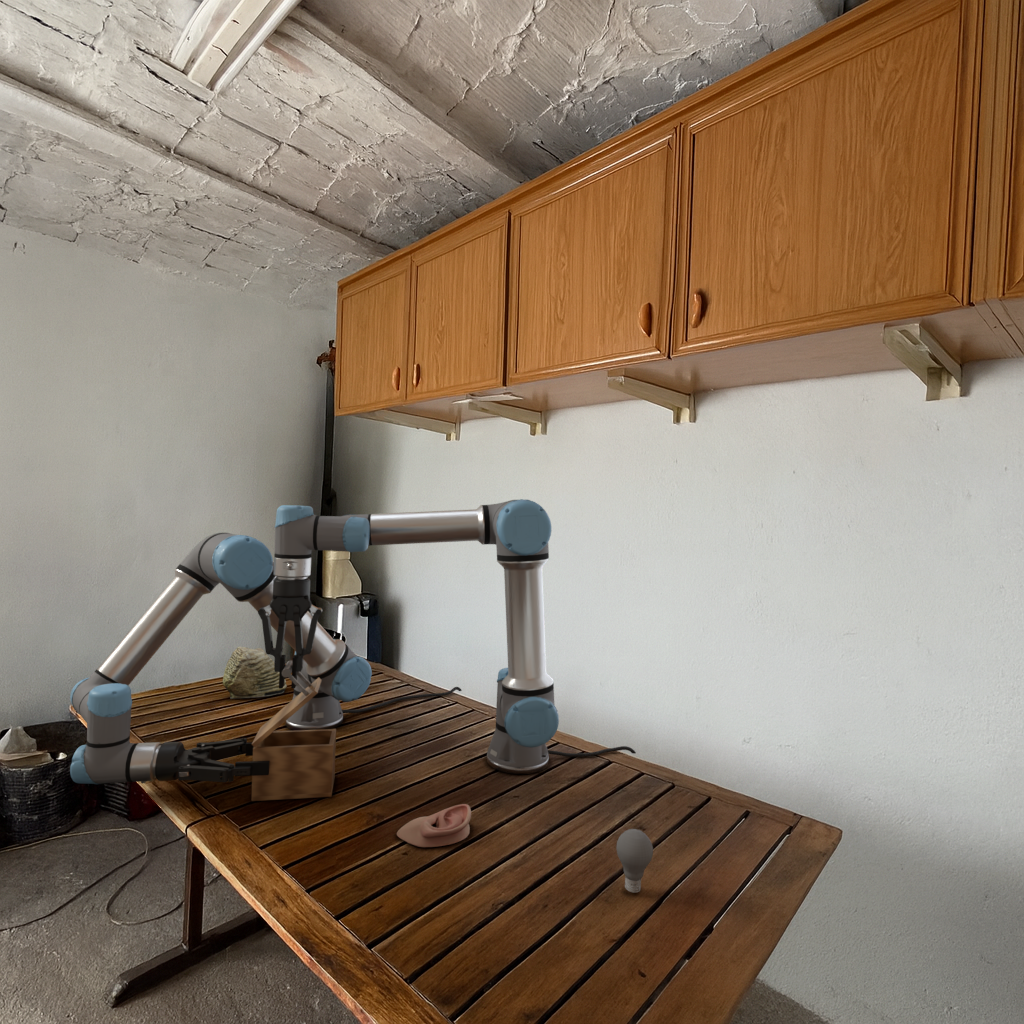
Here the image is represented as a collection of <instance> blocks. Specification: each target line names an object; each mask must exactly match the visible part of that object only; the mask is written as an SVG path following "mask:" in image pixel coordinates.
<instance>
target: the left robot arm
mask: <svg viewBox="0 0 1024 1024" xmlns="http://www.w3.org/2000/svg"><path fill="white" fill-rule="evenodd" d="M275 578H276V576H275V575H274V557H273V555H272V553H271V551H270V549H269V548H268V546H267V545H266V544H264V542H262V541H260V540H259V539H257V538H254V537H252V536H250V535H244V534H234V533H229V532H215V533H213V534H210V535H208V536H205V537H204V538H203V539H201V540H200V541H198V543H197V544H196V545H195V546H194V547H193V549H191V550H190V551H189V553H188V554H186V556H185V557H184V559H183V560H182V561H181V562H180V563H179V564H178V566H177V567H176V568H175V569H174V577H173V578H172V580H170V582H169V583H168V584H167V585H166V586H165V588H164V589H163V590H162V591H161V593H160V594H159V595H158V596H157V597H156V598H155V600H154V601H153V602H152V603H151V604H150V605H149V607H148V608H147V609H146V610H145V612H144V613H143V614H142V615H141V616H140V617H139V618H138V620H137V621H135V624H133V626H132V627H131V628H130V629H129V631H127V633H126V634H125V635H124V636H123V638H121V640H120V641H119V642H118V643H117V645H116V646H115V647H114V648H113V649H112V650H111V652H110V653H109V654H108V655H107V657H105V658H104V660H103V661H102V662H101V663H100V664H99V665H98V667H97V668H96V669H95V670H94V672H92V674H90V676H89V677H85V678H83V679H80V680H79V681H78V682H77V683H76V684H75V685H74V686H73V687H72V689H71V691H70V697H69V700H70V703H71V705H72V708H73V710H74V711H75V712H76V713H77V714H78V715H80V717H81V718H82V719H83V721H84V722H85V723H86V744H82V745H80V746H79V747H78V748H77V749H76V750H75V752H74V753H73V755H72V758H71V764H70V768H69V773H70V778H71V780H72V781H73V782H74V783H76V784H81V785H82V784H83V785H85V784H86V785H87V784H90V785H102V784H118V783H141V784H146V783H147V782H155V781H156V780H157V781H158V782H170V781H174V782H175V781H177V780H178V781H180V782H181V781H202V782H213V783H231V782H234V781H235V777H252V776H259V775H269V761H253V760H249V761H247V760H246V761H235V763H230V762H225V761H220V760H224V759H228V758H232V757H238V756H241V755H242V756H243V755H245V757H253V748H254V746H253V745H252V743H253V741H250V742H248V738H247V737H242V738H235V739H227V740H225V739H224V740H218V741H210V742H209V741H208V742H207V741H206V742H205V741H204V742H201V741H200V742H197V743H196V747H193V748H189V749H186V748H185V745H184V743H183V742H181V741H167V742H166V741H165V742H164V743H161V742H160V741H157V742H155V741H154V742H135V743H133V742H130V741H131V723H132V722H131V721H132V707H133V699H132V688H131V687H130V684H131V683H132V682H133V681H134V680H135V678H136V677H137V676H138V675H139V673H141V671H142V670H143V669H144V667H145V666H146V665H147V664H148V662H149V661H150V660H151V659H152V658H153V656H154V655H155V654H156V653H157V651H158V650H159V649H160V648H161V647H162V646H163V644H164V643H165V642H166V641H167V639H168V638H170V636H171V634H172V633H173V632H174V631H175V630H176V628H177V627H178V626H179V625H180V623H181V622H182V621H183V620H184V619H185V618H186V616H187V615H188V614H189V613H190V611H191V610H192V609H193V608H194V607H195V605H196V604H197V603H198V602H199V600H200V599H201V598H202V597H203V596H204V595H209V594H211V593H212V591H213V590H214V589H215V588H216V587H217V586H218V585H219V584H221V585H222V586H223V588H224V589H226V591H227V592H228V593H229V594H230V595H231V596H232V597H233V598H234V599H235V600H236V601H237V602H240V603H248V604H250V605H251V607H252V608H253V609H254V610H255V611H256V612H258V610H259V609H260V608H262V607H266V606H268V605H270V602H271V600H272V598H273V580H274V579H275ZM310 613H311V612H310V611H309V610H308V611H307V613H306V614H305V615H304V616H303V618H302V636H303V648H306V644H307V639H308V634H309V629H310V624H311V620H312V616H311V615H310ZM269 617H270V623H271V628H272V629H273V630H274V631H275V632H276V633H278V623H279V618H278V617H277V616H276V614H275V613H274V612H273V610H272V609H271V614H270V615H269ZM284 642H286V643H287V644H288V645H289V646H290V648H292V650H294V655H296V643H295V626H294V621H291V620H289V621H287V622H286V628H285V635H284ZM372 672H373V671H372V667H371V665H370V663H369V661H368V660H366V659H365V657H362V656H359V655H357V654H356V653H355V652H354V651H353V650H352V649H351V648H350V647H349V646H348V645H347V644H346V643H345V641H343V640H342V639H339V638H333V637H332V636H331V635H330V633H329V632H327V631H326V629H325V628H324V627H323V626H322V625H321V624H320V622H319V621H318V622H317V627H316V632H315V637H314V642H313V647H312V651H311V653H310V654H307V655H304V656H303V668H302V670H301V672H300V673H301V674H302V675H303V676H304V677H305V678H306V679H307V680H308V681H309V682H310V683H311V684H312V683H313V682H314V681H315V680H316V679H317V678H320V679H321V680H322V681H321V684H320V687H319V690H318V693H317V694H316V695H315V696H314V697H313V698H312V699H310V700H309V701H308V702H307V703H306V704H305V705H303V706H302V707H301V708H300V709H299V710H298V711H296V712H295V713H294V714H293V715H292V716H291V717H290V718H288V719H287V720H286V721H285V726H286V728H287V729H289V730H291V731H293V730H321V729H336V728H337V727H339V726H340V725H342V723H343V722H344V714H359V713H365V712H368V711H371V710H372V711H373V710H374V709H379V708H382V707H385V706H387V705H390V704H393V703H396V702H400V701H405V700H411V699H412V700H413V699H420V698H431V697H433V698H434V697H442V696H444V697H445V696H449V695H451V694H453V692H455V691H457V692H462V691H463V690H462V689H461V688H460V687H459V686H454V687H453V688H452V689H450V690H449V691H443V692H438V693H437V692H436V693H423V694H413V695H405V696H401V697H396V698H392V699H389V700H387V701H384V702H381V703H378V704H377V703H376V704H374V705H371V706H367V707H364V708H358V709H357V708H356V709H342V706H341V702H344V703H350V702H353V701H357V700H358V699H359V698H361V697H362V696H363V695H364V694H365V693H366V691H367V690H368V688H369V686H370V684H371V680H372V679H371V678H372V675H373V673H372ZM297 681H298V682H299V683H300V684H301V685H302V686H303V687H304V689H306V688H307V687H308V686H307V685H306V684H305V683H304V682H303V680H302V679H301V678H300V677H299V676H298V675H297ZM300 693H301V690H300V689H299V688H298V687H297V686H296V687H295V688H293V695H292V696H293V697H292V699H291V701H292V700H293V699H294V698H295V697H296V696H298V695H299V694H300ZM340 701H341V702H340Z"/></svg>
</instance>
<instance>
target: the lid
mask: <svg viewBox="0 0 1024 1024" xmlns="http://www.w3.org/2000/svg"><path fill="white" fill-rule="evenodd" d="M297 675H298V676H299V677H300V678H301V679H302V680H303V682H304V683H305V684H306V685H307V686H308V687H307V688H306V689H304V687H303V686H302V685H301V684H300V683H299V682H298V681H297V680H296V679H295V678H294V677H293V676H292V659H290V660H288V661H287V662H286V663H285V667H284V669H283V671H282V676H283V677H285V679H286V678H288V680H290V681H291V683H292V682H293V683H294V684H295V685H296V686H297V687H298V688H299V689H300V690H301V693H300V694H299V695H298V696H296V697H295V698H294V699H293V698H292V699H293V700H292V699H291V700H290V701H289V702H288V703H287V704H286V705H285V706H283V707H282V708H281V709H280V710H279V711H278V712H277V713H275V714H274V715H273V716H272V717H271V718H269V720H267V721H266V722H265V723H263V724H262V725H261V726H260V727H259V729H258V731H257V733H256V735H255V737H254V739H253V741H252V742H253V743H252V745H253V746H254V747H256V746H257V745H258V744H259V743H261V742H262V741H263V740H264V739H265V738H266V737H268V736H269V735H270V734H271V733H272V732H273V731H277V729H278V728H279V727H281V726H282V725H283V724H284V723H286V720H287V719H288V718H290V717H291V716H292V715H293V714H294V713H295V712H296V711H298V710H299V709H300V708H301V707H302V706H303V705H305V704H306V703H307V702H308V701H309V700H310V699H312V698H313V697H314V696H315V695H316V694H317V693H318V690H319V687H320V684H321V681H322V680H321V679H320V678H317V679H316V680H315V681H314V682H313V683H312V684H311V683H310V682H309V681H308V680H307V679H306V678H305V677H304V676H303V675H302V674H301V673H300V672H297Z"/></svg>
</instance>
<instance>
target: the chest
mask: <svg viewBox="0 0 1024 1024" xmlns="http://www.w3.org/2000/svg"><path fill="white" fill-rule="evenodd" d="M336 741H337V729H336V728H333V729H321V730H274V731H273V732H272V733H271V734H270V735H269V736H268V737H266V738H265V739H264V740H263V741H262V742H261V743H259V744H258V745H257V746H256V747H254V748H253V756H252V761H269V775H259V776H251V802H260V801H261V802H263V801H278V800H294V799H296V800H297V799H298V800H299V799H313V798H314V799H315V798H331V797H332V796H333V790H334V783H335V777H336V773H335V771H336V745H337V742H336Z"/></svg>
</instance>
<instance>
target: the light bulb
mask: <svg viewBox="0 0 1024 1024" xmlns="http://www.w3.org/2000/svg"><path fill="white" fill-rule="evenodd" d="M615 849H616V854H617V857H618V859H619V861H620V863H621V865H622V867H623V873H624V874H623V875H624V876H625V878H624V888H625V890H627V891H628V892H630V893H634V894H635V893H639V892H640V891H641V889H642V887H641V886H642V879H643V877H644V875H645V871H646V868H647V867H648V866H649V864H650V863H651V861H652V859H653V855H654V847H653V843H652V841H651V838H649V836H648V835H647V834H646V833H645V832H643V831H642V830H641V829H636V828H629V829H627V830H625V831H623V832H622V833H621V834H620V835H619V837H618V839H617V841H616V847H615Z"/></svg>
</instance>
